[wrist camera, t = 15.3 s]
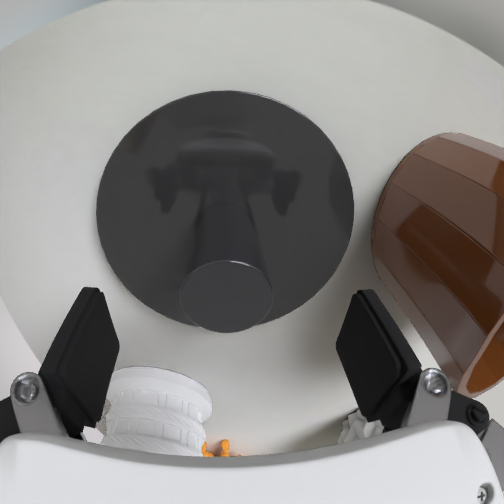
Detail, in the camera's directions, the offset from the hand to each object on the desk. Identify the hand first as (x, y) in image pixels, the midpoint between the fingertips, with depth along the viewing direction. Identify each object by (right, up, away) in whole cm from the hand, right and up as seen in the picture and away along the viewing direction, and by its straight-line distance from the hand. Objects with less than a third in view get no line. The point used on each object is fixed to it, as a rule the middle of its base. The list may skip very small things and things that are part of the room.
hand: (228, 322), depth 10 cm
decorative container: (-9, -13, +16) cm, 23 cm away
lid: (-1, +4, +6) cm, 8 cm away
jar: (+16, +5, +8) cm, 19 cm away
